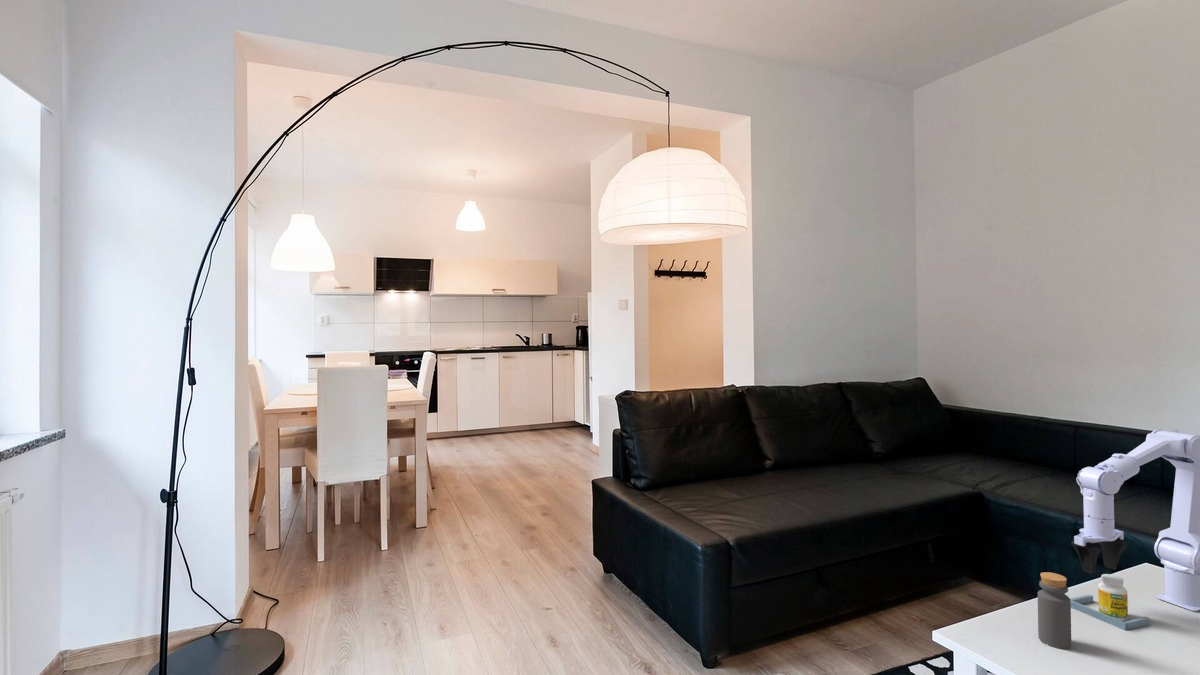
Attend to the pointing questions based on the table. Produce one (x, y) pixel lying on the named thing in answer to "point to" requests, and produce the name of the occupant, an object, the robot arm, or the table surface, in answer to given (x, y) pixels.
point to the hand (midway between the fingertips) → (1099, 570)
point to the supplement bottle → (1113, 597)
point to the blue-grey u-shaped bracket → (1125, 625)
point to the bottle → (1054, 611)
